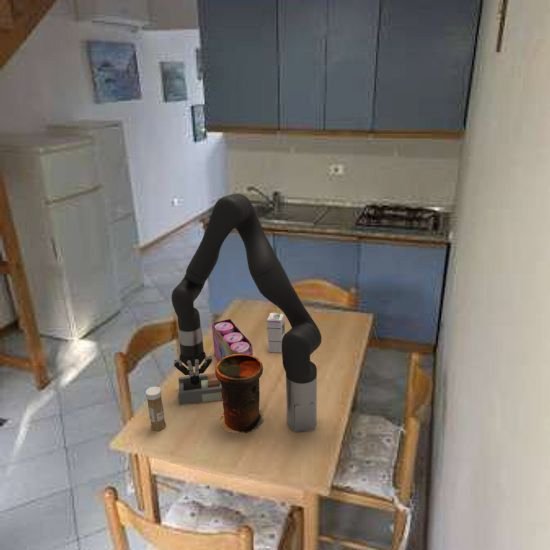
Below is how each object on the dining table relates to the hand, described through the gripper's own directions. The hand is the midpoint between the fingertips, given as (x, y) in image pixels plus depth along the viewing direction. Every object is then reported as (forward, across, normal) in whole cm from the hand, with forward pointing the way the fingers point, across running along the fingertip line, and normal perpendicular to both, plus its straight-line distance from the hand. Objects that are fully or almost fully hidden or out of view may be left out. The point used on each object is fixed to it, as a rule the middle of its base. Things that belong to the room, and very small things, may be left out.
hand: (195, 383), depth 166 cm
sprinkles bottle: (+4, -12, -14) cm, 19 cm away
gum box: (+4, +14, +15) cm, 21 cm away
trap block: (+1, +6, 0) cm, 6 cm away
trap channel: (+4, +6, 0) cm, 7 cm away
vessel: (+4, +14, -16) cm, 22 cm away
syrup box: (+4, +32, +23) cm, 39 cm away
